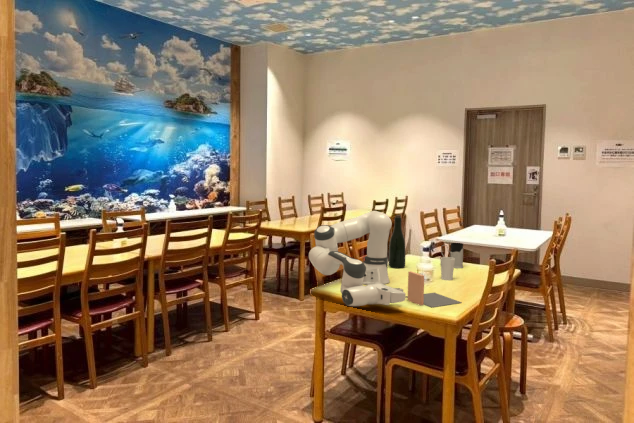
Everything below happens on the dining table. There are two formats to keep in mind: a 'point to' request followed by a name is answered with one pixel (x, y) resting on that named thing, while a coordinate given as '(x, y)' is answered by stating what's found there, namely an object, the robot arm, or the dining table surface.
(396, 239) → the dark green bottle
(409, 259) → the dining table surface
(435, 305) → the mat
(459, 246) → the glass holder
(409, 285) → the tile
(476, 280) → the dining table surface
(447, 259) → the cup
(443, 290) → the dining table surface
